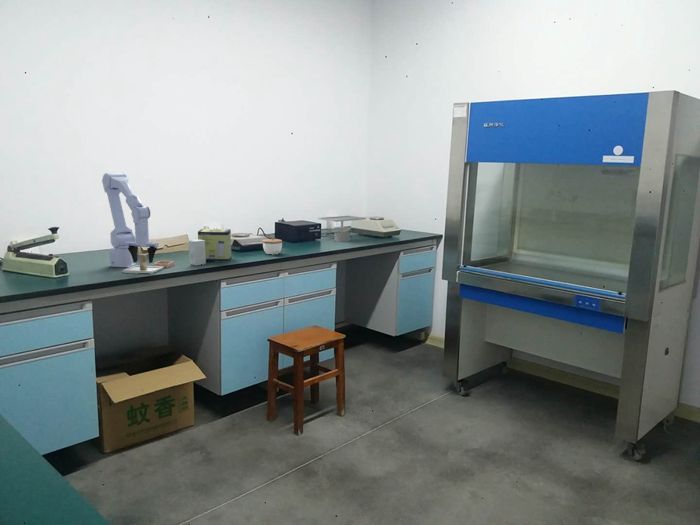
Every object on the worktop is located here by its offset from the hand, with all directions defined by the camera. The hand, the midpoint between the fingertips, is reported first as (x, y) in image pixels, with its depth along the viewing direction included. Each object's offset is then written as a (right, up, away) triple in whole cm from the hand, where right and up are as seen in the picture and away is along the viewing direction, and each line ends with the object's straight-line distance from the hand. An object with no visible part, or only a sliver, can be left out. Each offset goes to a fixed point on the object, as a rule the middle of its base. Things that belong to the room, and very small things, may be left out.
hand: (143, 262), depth 257 cm
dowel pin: (0, -3, +1) cm, 3 cm away
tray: (0, -4, +1) cm, 4 cm away
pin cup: (+5, -2, +13) cm, 14 cm away
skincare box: (+20, -1, +19) cm, 28 cm away
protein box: (+25, +1, +32) cm, 41 cm away
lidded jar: (+52, +4, +54) cm, 75 cm away
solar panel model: (+90, +14, +111) cm, 143 cm away
